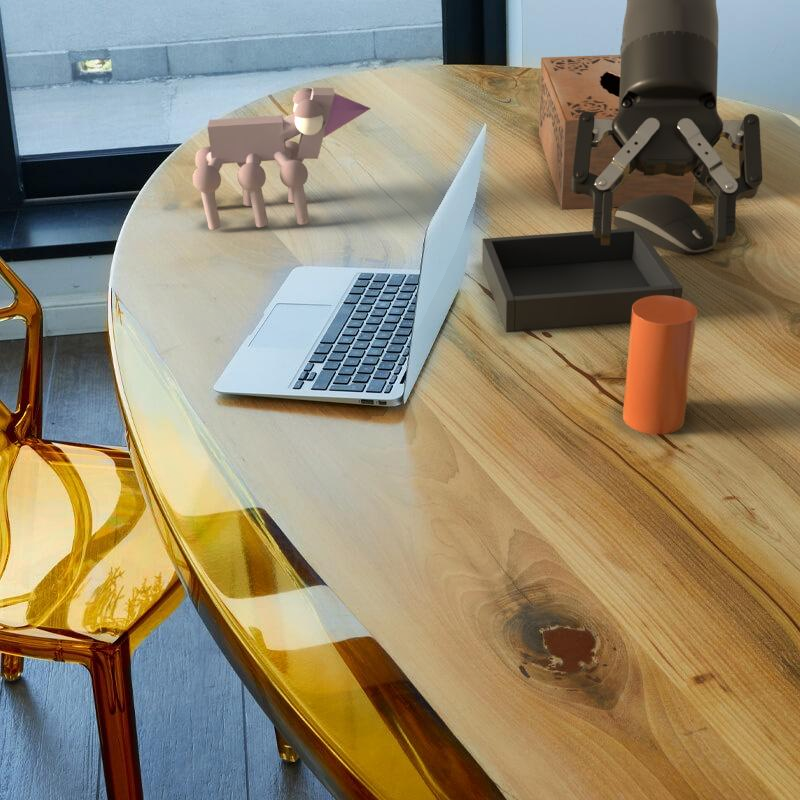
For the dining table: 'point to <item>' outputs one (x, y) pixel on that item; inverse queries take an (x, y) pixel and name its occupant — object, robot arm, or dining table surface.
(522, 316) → the tray
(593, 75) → the tissue box cover
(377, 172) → the dining table surface
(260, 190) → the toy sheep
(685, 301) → the canister
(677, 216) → the computer mouse
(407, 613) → the dining table surface
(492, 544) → the dining table surface
